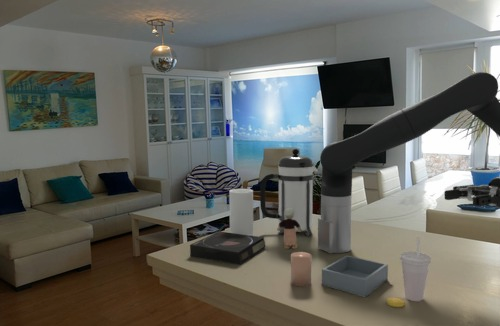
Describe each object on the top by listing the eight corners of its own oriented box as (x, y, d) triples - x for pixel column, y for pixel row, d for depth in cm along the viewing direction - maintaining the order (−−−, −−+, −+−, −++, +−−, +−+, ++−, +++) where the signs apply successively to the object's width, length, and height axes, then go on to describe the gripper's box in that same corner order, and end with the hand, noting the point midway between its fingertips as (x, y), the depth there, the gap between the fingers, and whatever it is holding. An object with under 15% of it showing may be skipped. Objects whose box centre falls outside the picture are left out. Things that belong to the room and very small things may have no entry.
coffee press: (295, 224, 161) (295, 146, 158) (325, 233, 148) (325, 148, 145) (259, 231, 151) (258, 148, 148) (287, 241, 138) (287, 151, 135)
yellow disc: (395, 308, 89) (395, 306, 89) (383, 302, 92) (383, 299, 92) (407, 305, 90) (408, 302, 90) (395, 299, 93) (395, 296, 93)
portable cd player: (240, 266, 116) (240, 252, 116) (190, 257, 124) (190, 244, 124) (265, 249, 131) (265, 237, 131) (219, 243, 139) (218, 231, 138)
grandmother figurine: (299, 245, 134) (300, 206, 133) (302, 248, 130) (302, 208, 129) (276, 245, 134) (276, 207, 132) (278, 249, 130) (277, 209, 128)
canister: (297, 287, 100) (297, 259, 99) (287, 280, 105) (287, 253, 104) (315, 284, 102) (315, 256, 102) (304, 277, 107) (304, 250, 106)
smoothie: (432, 305, 90) (434, 242, 89) (401, 302, 92) (403, 240, 90) (426, 292, 96) (428, 234, 95) (397, 290, 98) (398, 232, 96)
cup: (229, 232, 149) (228, 188, 148) (252, 232, 150) (251, 188, 148) (230, 239, 141) (229, 192, 140) (254, 238, 142) (254, 192, 140)
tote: (365, 297, 95) (365, 280, 94) (321, 285, 102) (322, 269, 101) (387, 279, 105) (387, 264, 104) (346, 269, 112) (346, 255, 111)
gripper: (489, 172, 106) (436, 178, 101) (543, 178, 92) (484, 186, 88) (490, 201, 106) (437, 208, 102) (543, 211, 93) (484, 221, 88)
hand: (459, 198), depth 95 cm, fingers open, 8 cm apart
